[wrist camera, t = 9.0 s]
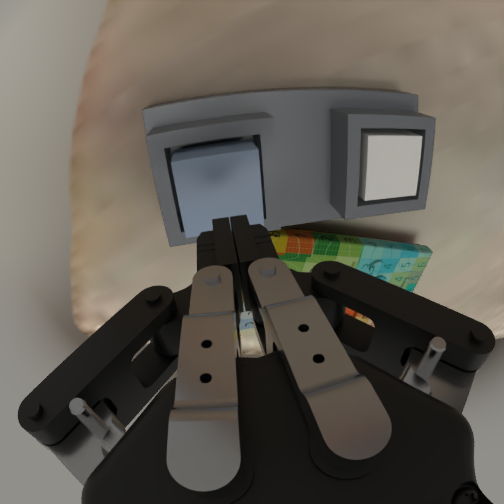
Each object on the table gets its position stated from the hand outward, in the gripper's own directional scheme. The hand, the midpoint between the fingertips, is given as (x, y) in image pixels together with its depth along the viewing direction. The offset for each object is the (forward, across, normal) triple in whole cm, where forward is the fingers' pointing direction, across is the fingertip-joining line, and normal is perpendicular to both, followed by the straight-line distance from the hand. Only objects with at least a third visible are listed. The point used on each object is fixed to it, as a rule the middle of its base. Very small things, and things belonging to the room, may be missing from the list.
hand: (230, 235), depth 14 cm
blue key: (+8, 0, 0) cm, 8 cm away
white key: (+10, -13, 0) cm, 16 cm away
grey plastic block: (+13, -6, 0) cm, 15 cm away
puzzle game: (+14, -11, +14) cm, 22 cm away
